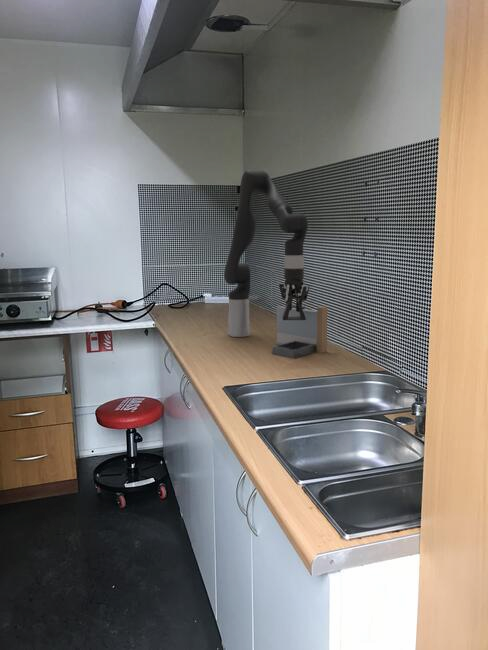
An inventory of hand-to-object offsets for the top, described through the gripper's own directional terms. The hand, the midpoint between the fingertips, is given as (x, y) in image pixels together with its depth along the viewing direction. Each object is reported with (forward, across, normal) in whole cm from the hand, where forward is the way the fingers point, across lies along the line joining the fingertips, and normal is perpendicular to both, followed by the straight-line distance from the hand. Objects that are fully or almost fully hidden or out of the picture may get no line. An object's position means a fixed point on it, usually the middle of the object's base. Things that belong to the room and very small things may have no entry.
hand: (294, 310), depth 207 cm
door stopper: (+3, 0, 0) cm, 3 cm away
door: (+17, -4, +8) cm, 19 cm away
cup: (+17, -14, +18) cm, 29 cm away
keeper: (+17, 0, 0) cm, 17 cm away
